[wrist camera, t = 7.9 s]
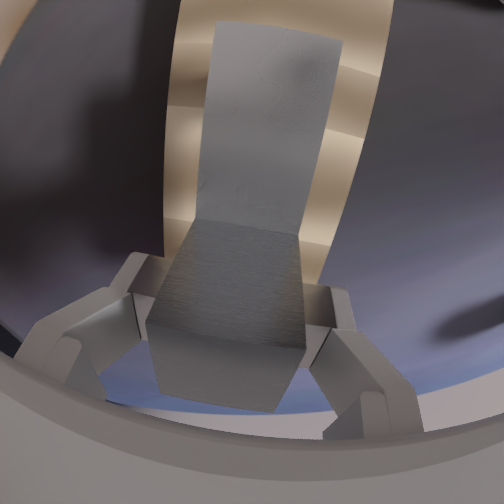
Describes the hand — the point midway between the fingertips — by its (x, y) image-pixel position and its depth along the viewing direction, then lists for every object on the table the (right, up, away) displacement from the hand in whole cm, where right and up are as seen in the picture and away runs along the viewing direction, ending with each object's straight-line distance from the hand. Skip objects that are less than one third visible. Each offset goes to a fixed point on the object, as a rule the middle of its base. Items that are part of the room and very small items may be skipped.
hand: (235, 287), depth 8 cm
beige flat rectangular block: (+1, +7, +9) cm, 12 cm away
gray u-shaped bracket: (+1, +4, +6) cm, 7 cm away
